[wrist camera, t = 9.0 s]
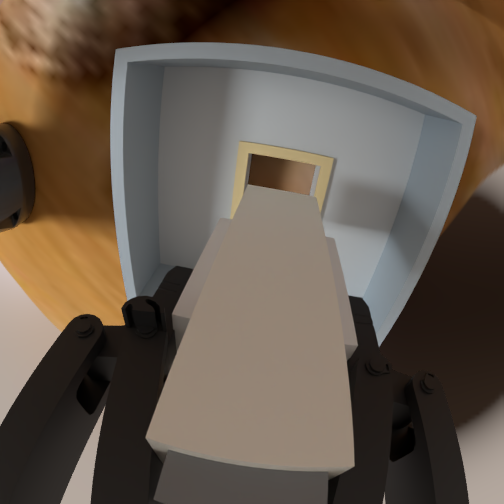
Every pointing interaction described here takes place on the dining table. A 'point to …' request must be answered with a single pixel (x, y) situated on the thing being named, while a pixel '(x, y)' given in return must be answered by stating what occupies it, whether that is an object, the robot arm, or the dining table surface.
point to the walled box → (280, 146)
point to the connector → (259, 368)
